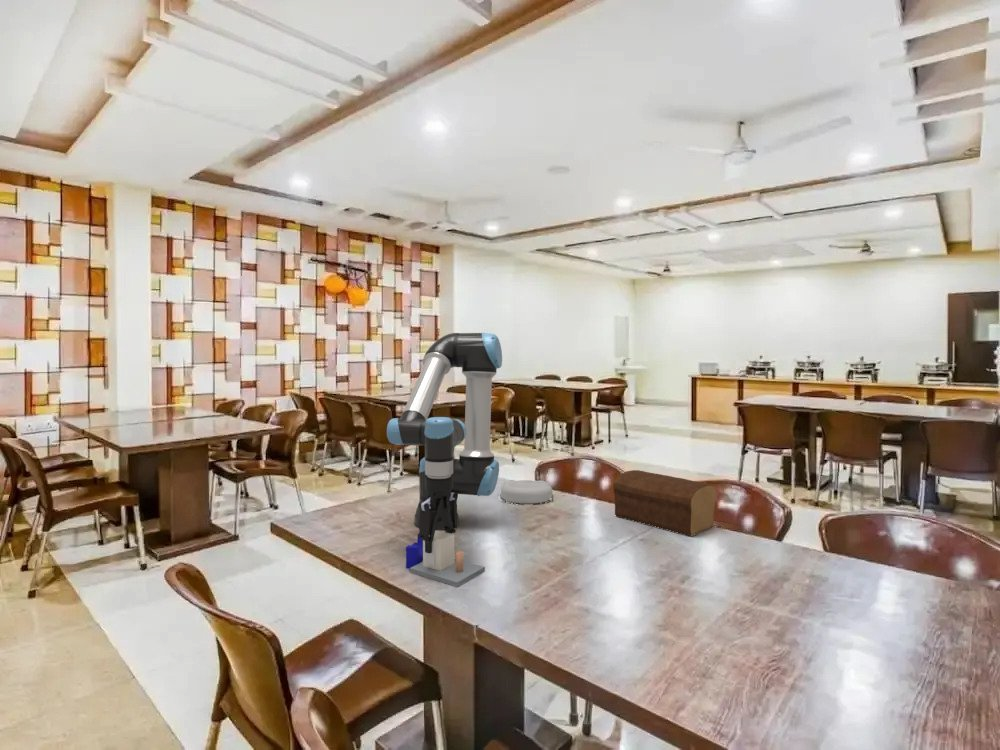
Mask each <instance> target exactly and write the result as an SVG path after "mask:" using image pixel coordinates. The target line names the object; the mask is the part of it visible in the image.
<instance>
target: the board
mask: <svg viewBox="0 0 1000 750" xmlns="http://www.w3.org/2000/svg"><path fill="white" fill-rule="evenodd" d="M485 571H486V567H485V565H484V566H483V565H480V564H477V563H472V562H469V561H466V560H464V551H462V550H456V551H455V564H453V565H451V566H449V567H447V568H445V569H443V570H441V571H439V570H436V569H432V568H429V567H425V566H423V562H421V563H419V564H417V565H415V566H413V567H411V568H410V569H409V572H410V573H411V574H414V575H418V576H420V577H424V578H427V579H430V580H434V581H437V582H440V583H443V584H447V585H450V586H454V587H456V588H458V587H460V586H462V585H463V584H465V583H467V582H469V581H470V580H472V579H474V578H475V577H477V576H479V575H481V574H483V573H484V572H485Z"/></svg>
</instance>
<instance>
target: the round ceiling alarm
mask: <svg viewBox="0 0 1000 750" xmlns="http://www.w3.org/2000/svg"><path fill="white" fill-rule="evenodd" d="M501 485H502V486H501V488H500V494H501V496H500V498H501V499H502V500H504V501H505V500H507V501H506V503H505V504H507V503H511V502H513V503H514V504H516V503H520V504H524V505H533V503H540V504H542V503H541V502H545V501H547V502H549V501H551V500H552V499H553V497H552V495H553V488H552V485H551V484H550V483H549V482H547V481H544V480H541V479H540V480H527V479H526V480H525V479H523V480H515V479H510V480H507V481H506V482H504V483H503V484H501ZM548 500H549V501H548ZM508 501H509V502H508ZM513 503H511V504H510V505H512V504H513ZM545 503H546V502H545ZM515 506H519V505H518V504H516V505H515Z"/></svg>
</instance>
